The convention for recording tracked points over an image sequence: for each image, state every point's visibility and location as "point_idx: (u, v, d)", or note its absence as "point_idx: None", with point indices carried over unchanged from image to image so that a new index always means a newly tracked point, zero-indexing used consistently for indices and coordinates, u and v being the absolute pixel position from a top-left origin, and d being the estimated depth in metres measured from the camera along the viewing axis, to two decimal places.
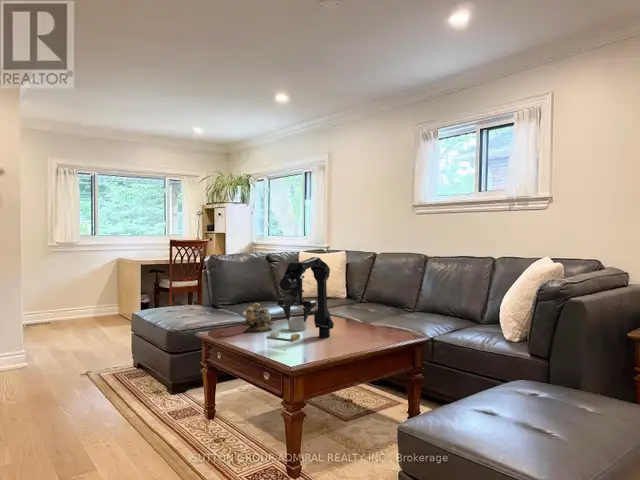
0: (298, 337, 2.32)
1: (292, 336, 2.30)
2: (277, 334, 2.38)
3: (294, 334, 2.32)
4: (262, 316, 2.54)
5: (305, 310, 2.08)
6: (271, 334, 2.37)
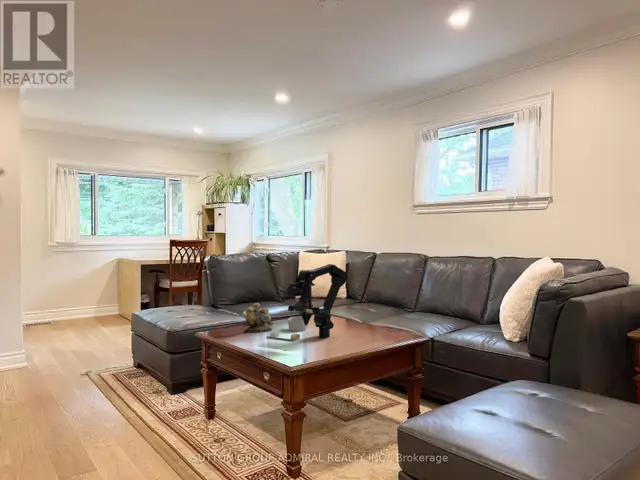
0: (298, 337, 2.32)
1: (292, 336, 2.30)
2: (277, 334, 2.38)
3: (294, 334, 2.32)
4: (262, 316, 2.54)
5: (307, 315, 2.26)
6: (271, 334, 2.37)
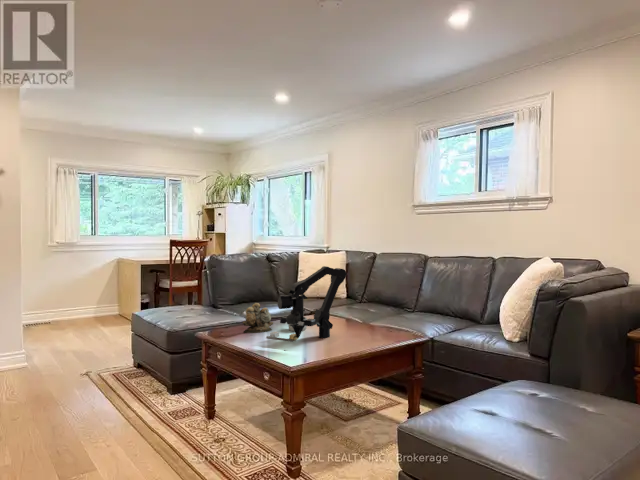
0: None
1: (291, 336, 2.31)
2: (277, 334, 2.38)
3: (293, 334, 2.33)
4: (262, 316, 2.54)
5: (298, 327, 2.28)
6: (271, 334, 2.37)
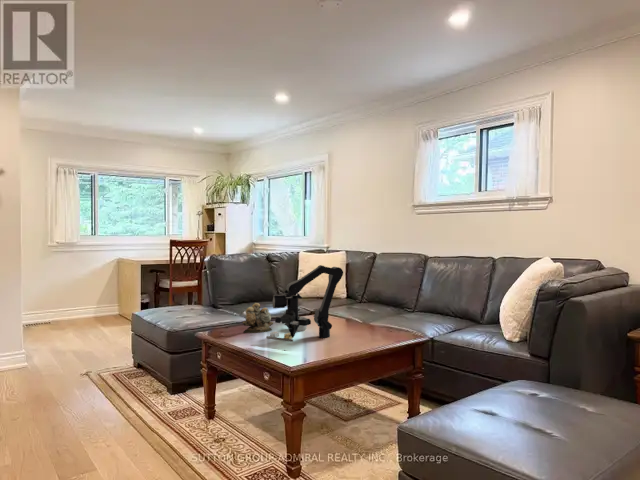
0: None
1: (285, 335, 2.32)
2: (277, 334, 2.38)
3: (287, 333, 2.34)
4: (262, 316, 2.54)
5: (293, 327, 2.30)
6: (271, 334, 2.37)
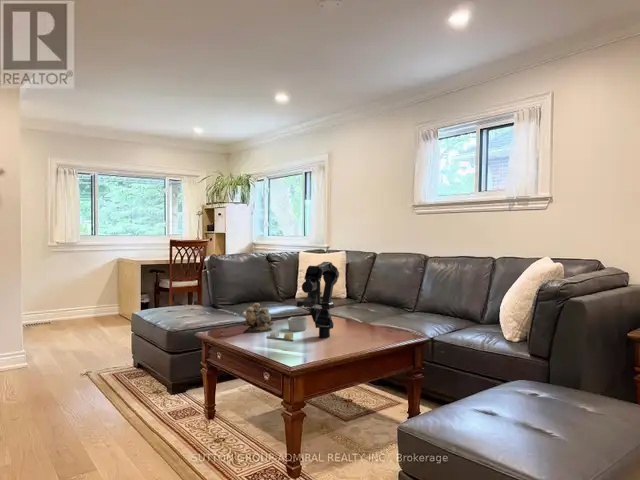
0: (291, 336, 2.34)
1: (285, 335, 2.32)
2: (277, 334, 2.38)
3: (287, 333, 2.34)
4: (262, 316, 2.54)
5: (315, 311, 2.22)
6: (271, 334, 2.37)
